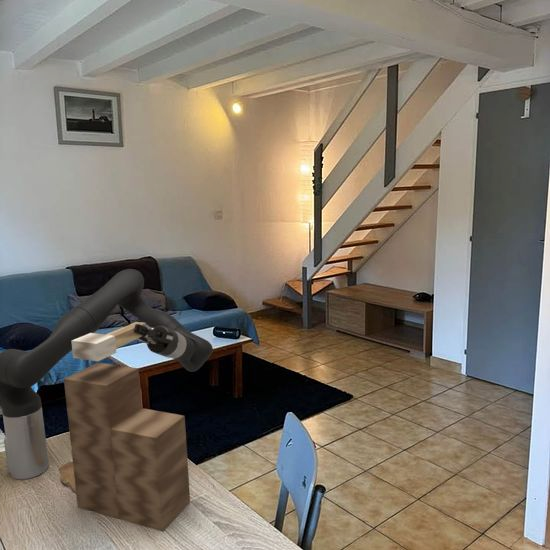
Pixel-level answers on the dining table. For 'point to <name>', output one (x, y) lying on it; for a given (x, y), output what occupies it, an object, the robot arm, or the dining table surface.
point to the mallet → (103, 343)
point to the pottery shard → (68, 475)
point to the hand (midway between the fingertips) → (130, 327)
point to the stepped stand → (125, 449)
